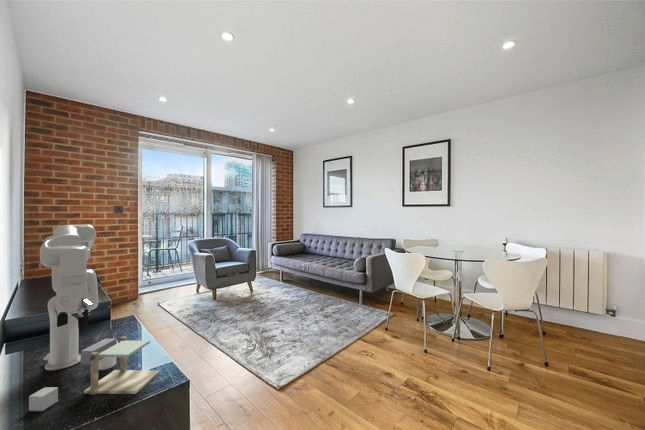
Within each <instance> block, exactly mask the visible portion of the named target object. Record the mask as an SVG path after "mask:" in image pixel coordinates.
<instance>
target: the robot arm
mask: <svg viewBox="0 0 645 430" xmlns="http://www.w3.org/2000/svg"><path fill="white" fill-rule="evenodd" d="M96 237H97V232H96V228H95V227H94V226H93V225H91V224H64V225H59V226H57V227H56V228H55V229H54V230H53V234H52V235H50V236H48V237H46V238H45V239H44V240H43V243H42V244H41V246H40V249H39V261H40V264H41V265H42V266H44V267H46V268H51V286H52V287H51V288H52V290H53V291H54V292H56V293H55V296H53V297H51V298H50V299H49V300H48V302H47V310H48V316H49V353H47V354H46V356H44V357H43V361H47V363H46V364H44V370H46V371H58V370H63V369H65V368H69V367H72V366H74V365H76V364H78V363H81V353H79V345H80V344H79V342H80V341H79V339H80V338H79V336H80V335H79V333H80V332H79V329H82V328H85V327H88V326H89V320H90V319H89V317H90V316H89V315H90V314H91V312H92V311H93V310H95V309H97V307H98V306H99V290H98V289H99V288H98V277H97V276H98V275H97V273H96V271H95V270H93V269H89V268H87V267H88V265H87V262H88V261H89V259H91V250H92V248H93V246H94V244H95V241H96ZM73 314H78V316H79V317H78V318H76V317H75V316H73Z"/></svg>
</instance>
